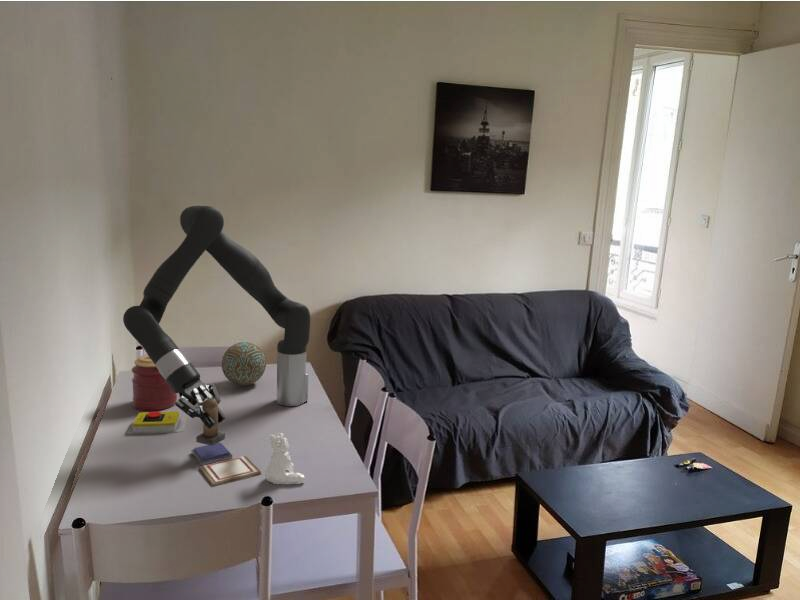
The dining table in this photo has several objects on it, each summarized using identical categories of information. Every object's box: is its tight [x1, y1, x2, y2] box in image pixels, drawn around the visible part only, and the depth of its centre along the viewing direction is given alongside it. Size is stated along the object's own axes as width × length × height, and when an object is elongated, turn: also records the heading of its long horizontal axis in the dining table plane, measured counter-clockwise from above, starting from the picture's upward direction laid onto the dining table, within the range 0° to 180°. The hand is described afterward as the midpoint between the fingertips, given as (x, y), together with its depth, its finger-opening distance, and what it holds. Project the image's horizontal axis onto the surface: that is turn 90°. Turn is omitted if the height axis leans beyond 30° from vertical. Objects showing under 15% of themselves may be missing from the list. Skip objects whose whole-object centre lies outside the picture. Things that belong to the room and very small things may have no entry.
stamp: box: [196, 398, 226, 446], centre depth 156 cm, size 5×5×11 cm
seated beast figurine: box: [264, 432, 306, 485], centre depth 147 cm, size 10×9×12 cm
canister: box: [131, 353, 178, 412], centre depth 189 cm, size 13×13×18 cm
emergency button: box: [127, 410, 188, 435], centre depth 174 cm, size 9×4×15 cm
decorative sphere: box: [221, 341, 267, 386], centre depth 212 cm, size 15×15×15 cm
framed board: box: [198, 455, 262, 487], centre depth 150 cm, size 12×10×1 cm
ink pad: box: [190, 442, 233, 466], centre depth 158 cm, size 8×8×2 cm
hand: (217, 423), depth 156 cm, fingers closed on stamp, 3 cm apart
